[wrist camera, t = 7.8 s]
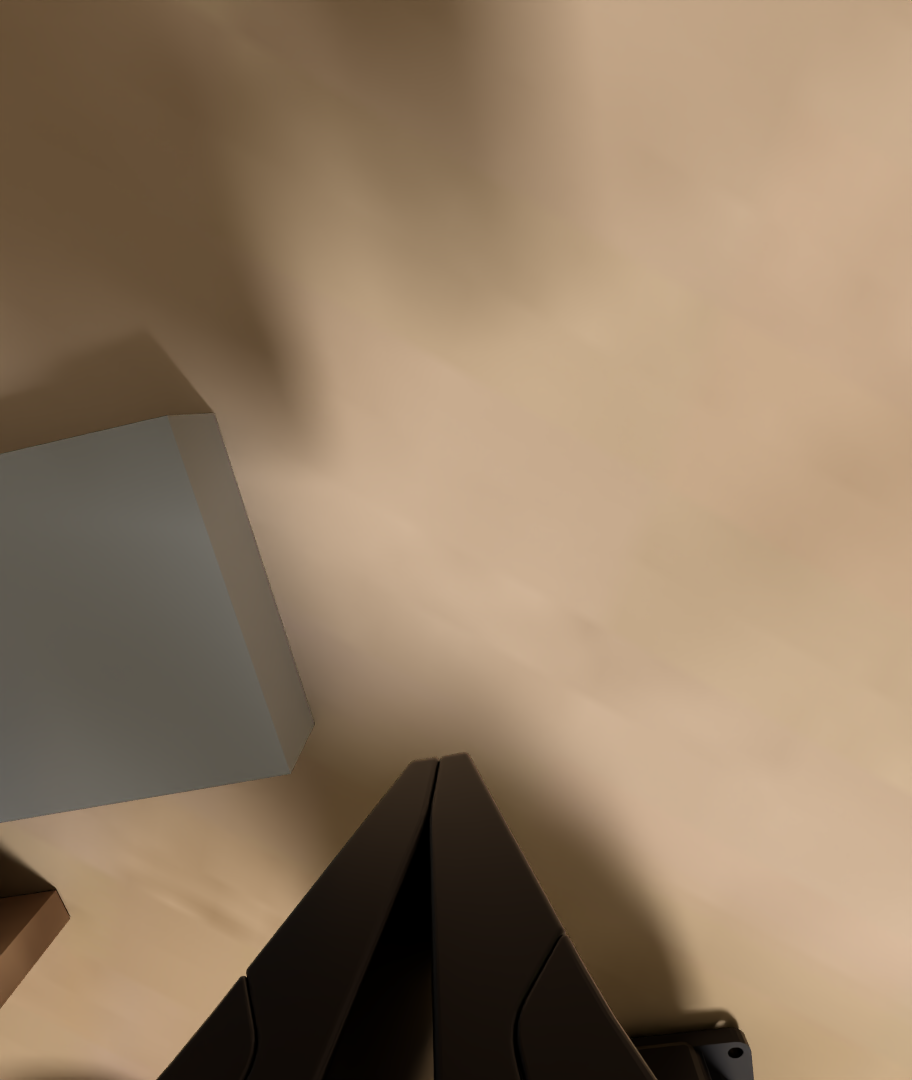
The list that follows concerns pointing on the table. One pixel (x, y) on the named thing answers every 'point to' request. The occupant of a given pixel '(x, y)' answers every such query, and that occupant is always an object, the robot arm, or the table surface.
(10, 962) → the brown wooden box
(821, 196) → the table surface
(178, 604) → the slate slab
